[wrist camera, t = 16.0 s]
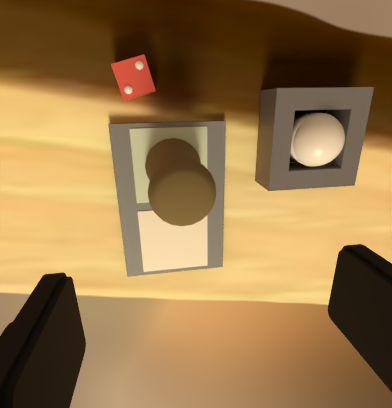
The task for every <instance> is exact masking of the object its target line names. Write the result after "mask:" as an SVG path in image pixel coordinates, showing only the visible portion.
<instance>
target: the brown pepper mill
mask: <svg viewBox="0 0 392 408" xmlns="http://www.w3.org/2000/svg"><path fill="white" fill-rule="evenodd" d="M145 169H146V175H147V176H148V178H149V180H150V181H149V187H148V198H149V204H150V205H151V207H152V209H153V211H154V213H155V214H156V215H157V216H158V217H160V218H161V219H162V220H163V221H165V222H167V223H169V224H171V225H176V226H187V225H193V224H195V223H197V222H199V221H201V220H202V219H203V218H205V217H206V216H207V215H208V214H209V212H210V211H211V209H212V208H213V206H214V203H215V199H216V183H215V181H214V179H213V176H212V174H211V173H210V172H209V171H208V170H207V168H206V167H205V166H204V165H202V164H201V161H200V158H199V155H198V153H197V151H196V150H195V148H194V147H193V146H192V145H191V144H189V143H188V142H186V141H184V140H181V139H177V138H170V139H164V140H162V141H160V142H158V143H156V144H155V145H154V146H153V147H152V148H151V149H150V151H149V153H148V155H147V157H146V162H145Z"/></svg>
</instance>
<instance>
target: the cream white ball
mask: <svg viewBox="0 0 392 408" xmlns="http://www.w3.org/2000/svg"><path fill="white" fill-rule="evenodd" d="M344 142H345V133H344V129H343V126H342V125H341V123H340V122H339V121H338V120H337V119H336V118H335V117H333V116H332V115H330V114H326V113H311V112H310V113H304V114H302V115H300V116H298V117H296V118H295V119H294V124H293V134H292V143H291V153H290V158H291V159H292V160H294V161H296V162H298V163H301V164H304V165H306V166H311V167H314V166H321V165H324V164H327V163H329V162H331V161H332V160H333V159H335V158H336V157H337V156H338V154H339V153H340V152H341V150H342V148H343V146H344Z"/></svg>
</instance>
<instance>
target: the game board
mask: <svg viewBox="0 0 392 408" xmlns="http://www.w3.org/2000/svg"><path fill="white" fill-rule="evenodd" d="M108 125H109V133H110V141H111V149H112V157H113V165H114V173H115V181H116V189H117V197H118V205H119V213H120V221H121V229H122V237H123V245H124V253H125V261H126V269H127V277H129V276H139V275H148V274H158V273H168V272H177V271H187V270H197V269H207V268H216V267H223V225H224V178H225V130H226V121H193V122H155V123H117V124H108ZM170 138H177V139H181V140H184V141H186V142H188V143H189V144H191V145H192V146H193V147H194V148H195V150H196V151H197V153H198V155H199V158H200V161H201V164H202V165H204V166H205V167H206V168H207V170H208V171H209V172H210V173H211V174H212V176H213V179H214V181H215V183H216V199H215V203H214V206H213V208H212V209H211V211H210V212H209V214H208V215H207V216H206V217H205V218H203V219H202V220H201V221H199V222H197V223H195V224H193V225H187V226H176V225H171V224H169V223H167V222H165V221H163V220H162V219H161V218H160V217H158V216H157V215H156V214H155V213H154V211H153V209H152V207H151V205H150V204H149V198H148V187H149V181H150V180H149V178H148V176H147V175H146V169H145V162H146V157H147V155H148V153H149V151H150V149H151V148H152V147H153V146H154V145H155V144H156V143H158V142H160V141H162V140H164V139H170Z"/></svg>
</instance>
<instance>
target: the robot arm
mask: <svg viewBox="0 0 392 408" xmlns="http://www.w3.org/2000/svg"><path fill="white" fill-rule="evenodd" d="M328 314H329V316H330V318H331V320H332V321H333V322H334V323H335V325H336V326H337V327H338V328H339V329H340V331H341V332H342V333H343V334H344V335H345V337H346V338H347V339H348V340H349V341H350V343H351V344H352V345H353V346H354V348H355V349H356V350H357V351H358V352H359V354H360V355H361V356H362V357H363V358H364V360H365V361H366V362H367V363H368V364H369V366H370V367H371V368H372V369H373V370H374V372H375V373H376V374H377V375H378V376H379V378H380V379H381V380H382V381H383V382H384V384H385V385H386V386H387V387H388V388H389V390H390V391H391V392H392V264H391V263H390V262H388V261H387V260H385V259H384V258H382V257H381V256H379V255H378V254H376V253H375V252H373V251H372V250H370V249H369V248H367V247H366V246H364V245H362V244H358V245H347V246H344V247H343V248H342V250H341V251H340V252H339V254H338V259H337V264H336V269H335V274H334V280H333V285H332V290H331V295H330V300H329V305H328ZM85 346H86V342H85V336H84V331H83V327H82V322H81V317H80V312H79V308H78V303H77V298H76V293H75V288H74V284H73V279H72V277H67V276H66V274H65V273H54V274H45V275H43V277H42V278H41V280H40V281H39V283H38V284H37V286H36V287H35V289H34V290H33V292H32V293H31V295H30V297H29V298H28V300H27V301H26V303H25V304H24V306H23V307H22V309H21V310H20V312H19V313H18V315H17V317H16V318H15V320H14V321H13V322H12V323H10V324H9V325H8V326H7V327H6V328H5V330H4V331H3V333H2V334H1V336H0V408H69V407H70V403H71V400H72V396H73V392H74V389H75V386H76V382H77V378H78V374H79V371H80V368H81V364H82V360H83V357H84V353H85Z"/></svg>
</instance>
